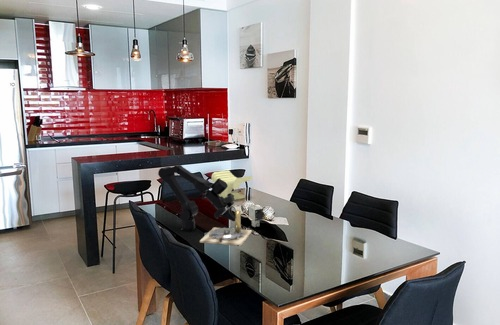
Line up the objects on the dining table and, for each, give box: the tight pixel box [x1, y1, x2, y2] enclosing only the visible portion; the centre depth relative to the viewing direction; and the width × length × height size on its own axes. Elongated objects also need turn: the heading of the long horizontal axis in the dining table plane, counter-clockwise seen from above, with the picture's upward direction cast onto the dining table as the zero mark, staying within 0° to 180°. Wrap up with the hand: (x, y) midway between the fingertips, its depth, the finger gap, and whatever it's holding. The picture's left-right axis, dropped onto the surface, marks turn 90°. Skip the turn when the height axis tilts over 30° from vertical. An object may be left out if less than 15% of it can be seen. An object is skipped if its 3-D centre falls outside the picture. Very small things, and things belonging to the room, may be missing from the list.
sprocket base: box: [199, 227, 253, 247], centre depth 213 cm, size 22×22×3 cm
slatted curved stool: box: [211, 170, 253, 201], centre depth 298 cm, size 30×16×18 cm, turn 36°
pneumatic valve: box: [247, 205, 265, 228], centre depth 231 cm, size 6×12×12 cm, turn 27°
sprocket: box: [209, 210, 244, 241], centre depth 212 cm, size 18×18×12 cm
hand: (235, 220), depth 216 cm, fingers closed
